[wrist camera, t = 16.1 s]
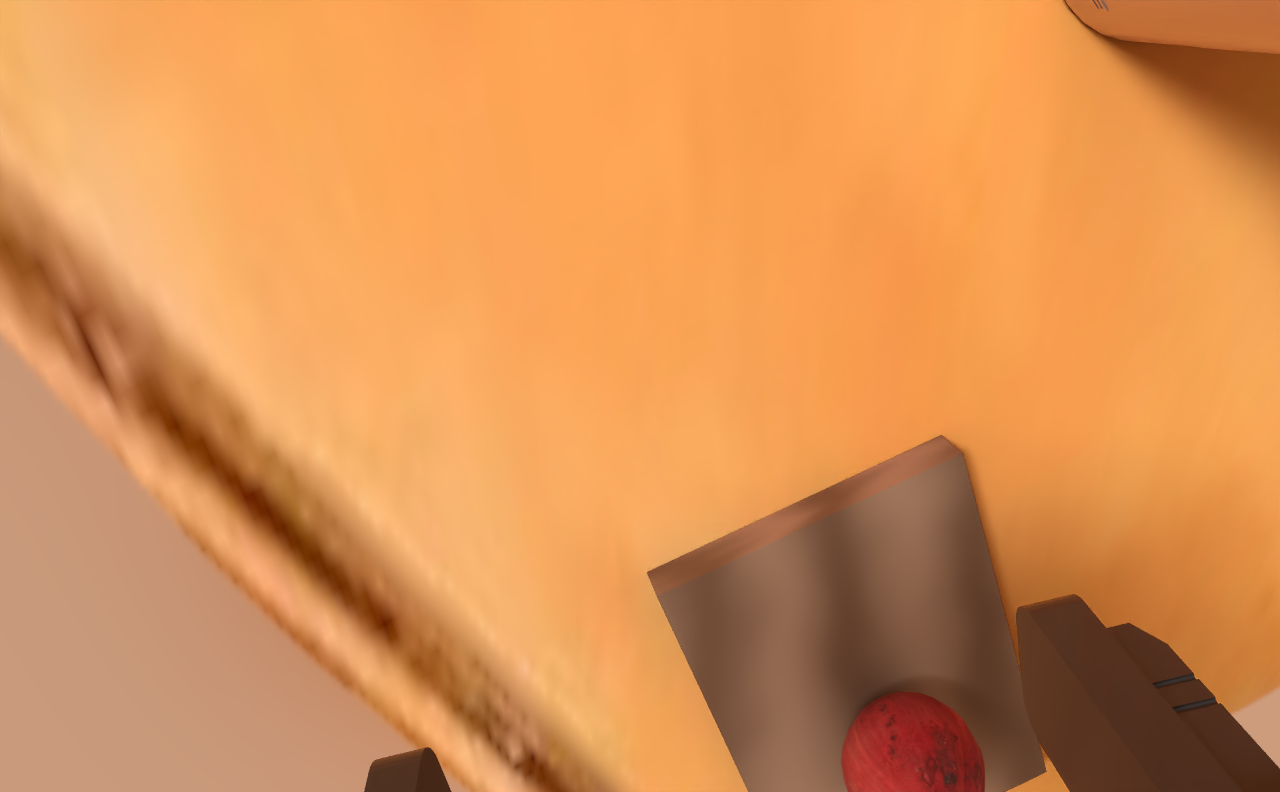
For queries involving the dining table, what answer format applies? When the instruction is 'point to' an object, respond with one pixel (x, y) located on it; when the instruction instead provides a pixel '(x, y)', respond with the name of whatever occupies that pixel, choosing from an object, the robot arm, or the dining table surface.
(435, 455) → the dining table surface
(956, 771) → the onion
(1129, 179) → the dining table surface
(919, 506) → the cutting board
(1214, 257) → the dining table surface
